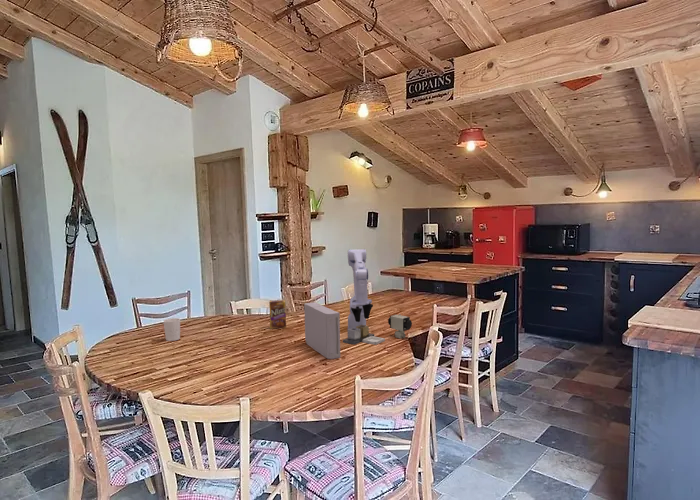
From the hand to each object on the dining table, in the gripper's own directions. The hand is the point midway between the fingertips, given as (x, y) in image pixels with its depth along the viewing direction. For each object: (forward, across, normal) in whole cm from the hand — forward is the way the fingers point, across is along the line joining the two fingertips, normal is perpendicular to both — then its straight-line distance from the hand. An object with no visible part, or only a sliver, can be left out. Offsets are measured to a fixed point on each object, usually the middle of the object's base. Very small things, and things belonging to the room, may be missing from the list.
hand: (362, 320), depth 227 cm
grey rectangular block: (+9, -7, 0) cm, 11 cm away
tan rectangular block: (+9, 0, 0) cm, 9 cm away
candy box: (+10, -8, +52) cm, 53 cm away
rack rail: (+10, -3, 0) cm, 10 cm away
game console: (+10, -26, +4) cm, 28 cm away
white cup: (+10, -54, +80) cm, 97 cm away
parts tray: (+10, -2, -8) cm, 13 cm away
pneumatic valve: (+10, +12, -15) cm, 21 cm away
